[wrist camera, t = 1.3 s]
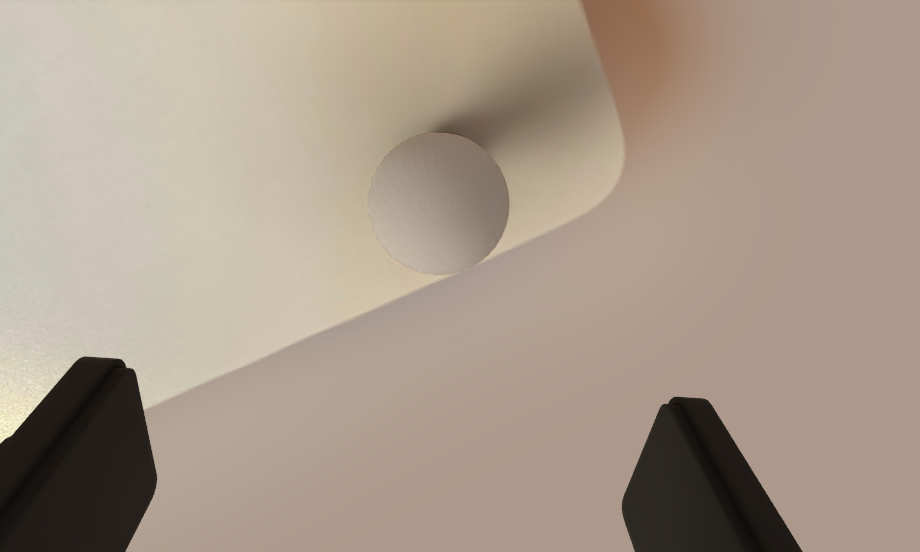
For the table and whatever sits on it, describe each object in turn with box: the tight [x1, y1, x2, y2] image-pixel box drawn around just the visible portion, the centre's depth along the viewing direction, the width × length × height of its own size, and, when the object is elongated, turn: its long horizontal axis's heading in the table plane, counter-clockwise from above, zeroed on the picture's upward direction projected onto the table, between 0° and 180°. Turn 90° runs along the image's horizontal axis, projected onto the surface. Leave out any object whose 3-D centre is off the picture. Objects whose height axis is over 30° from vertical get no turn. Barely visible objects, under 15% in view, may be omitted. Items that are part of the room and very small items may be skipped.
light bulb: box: [368, 133, 509, 275], centre depth 25 cm, size 6×6×10 cm
